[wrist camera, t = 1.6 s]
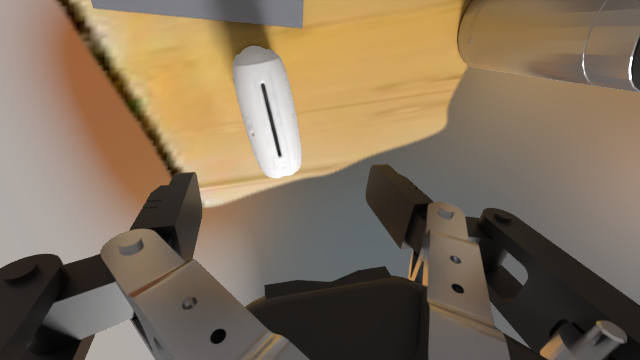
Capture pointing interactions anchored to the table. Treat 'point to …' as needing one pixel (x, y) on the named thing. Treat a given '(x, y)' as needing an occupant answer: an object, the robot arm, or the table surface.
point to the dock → (216, 10)
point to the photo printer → (268, 110)
